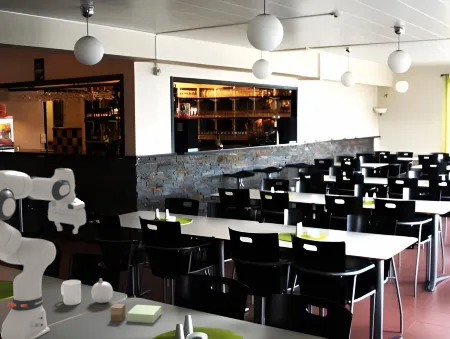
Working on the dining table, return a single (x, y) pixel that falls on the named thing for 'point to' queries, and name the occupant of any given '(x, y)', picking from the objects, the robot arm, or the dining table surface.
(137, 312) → the base box
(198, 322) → the dining table surface
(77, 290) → the cup
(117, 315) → the walnut block
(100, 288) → the ornament
